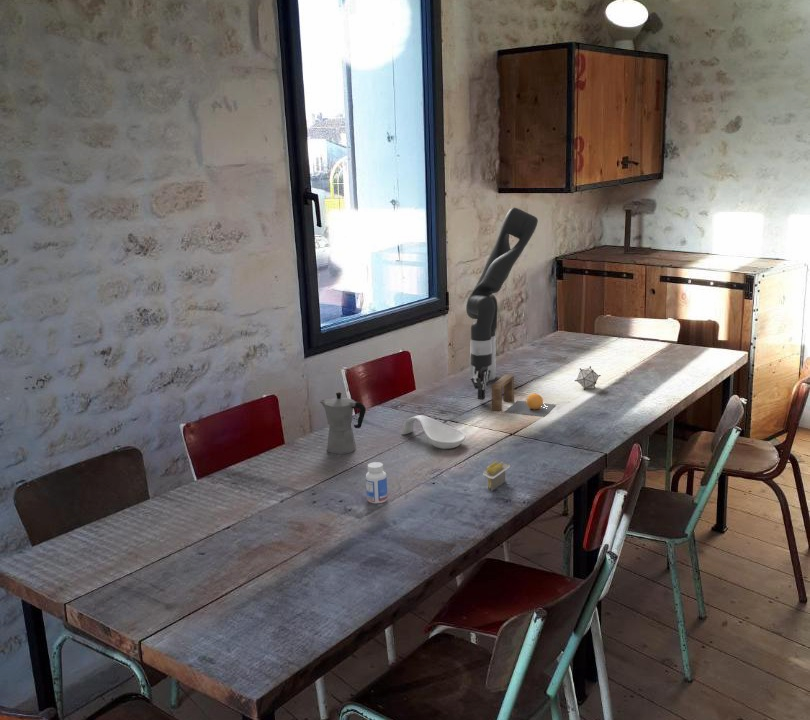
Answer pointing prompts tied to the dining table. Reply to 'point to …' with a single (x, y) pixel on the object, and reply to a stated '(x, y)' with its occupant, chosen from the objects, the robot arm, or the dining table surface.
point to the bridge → (497, 392)
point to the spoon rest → (436, 432)
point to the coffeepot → (341, 423)
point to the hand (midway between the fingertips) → (481, 399)
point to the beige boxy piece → (496, 474)
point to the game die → (587, 378)
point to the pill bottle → (376, 483)
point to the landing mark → (523, 408)
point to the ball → (534, 401)
